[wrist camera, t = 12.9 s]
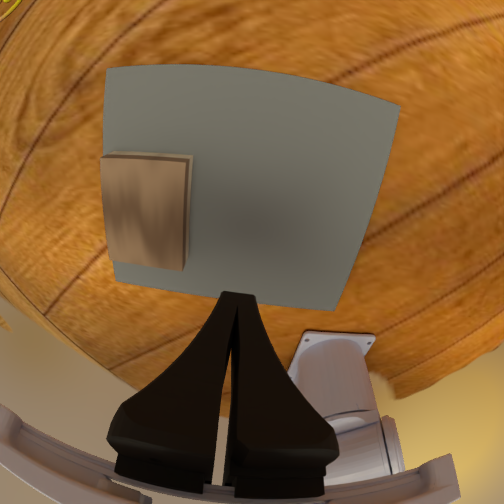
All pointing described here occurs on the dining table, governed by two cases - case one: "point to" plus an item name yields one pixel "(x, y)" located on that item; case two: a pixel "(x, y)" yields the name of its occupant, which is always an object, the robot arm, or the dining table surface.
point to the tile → (147, 207)
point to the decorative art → (10, 8)
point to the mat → (257, 175)
